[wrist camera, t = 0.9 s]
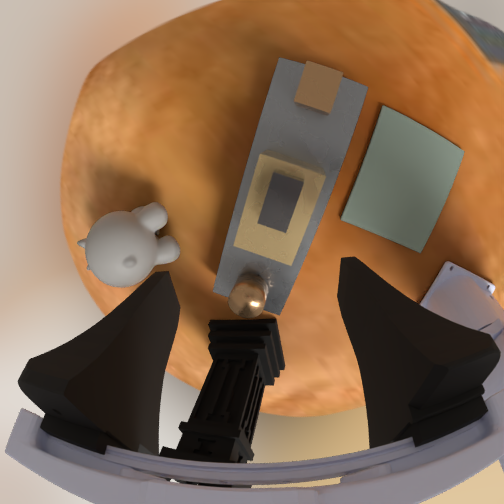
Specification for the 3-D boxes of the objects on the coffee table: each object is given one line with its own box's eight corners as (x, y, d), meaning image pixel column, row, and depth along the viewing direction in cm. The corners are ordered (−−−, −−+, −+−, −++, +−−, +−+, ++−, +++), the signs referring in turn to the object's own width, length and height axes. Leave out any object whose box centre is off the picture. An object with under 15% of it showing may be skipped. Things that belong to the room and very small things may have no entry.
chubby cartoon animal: (114, 202, 31) (56, 228, 25) (171, 193, 24) (90, 228, 18) (131, 254, 34) (78, 285, 27) (191, 264, 27) (122, 309, 21)
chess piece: (210, 320, 32) (136, 469, 15) (276, 318, 30) (233, 495, 12) (226, 364, 35) (177, 496, 18) (285, 365, 33) (255, 512, 16)
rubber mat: (462, 151, 18) (464, 151, 18) (419, 251, 23) (420, 253, 23) (382, 105, 19) (383, 105, 18) (340, 218, 24) (340, 219, 23)
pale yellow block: (267, 149, 20) (257, 155, 16) (323, 168, 20) (327, 179, 16) (243, 228, 23) (229, 251, 19) (294, 246, 23) (290, 272, 19)
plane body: (282, 64, 19) (273, 44, 14) (362, 91, 19) (379, 80, 13) (220, 278, 29) (200, 313, 24) (282, 300, 29) (274, 339, 24)
